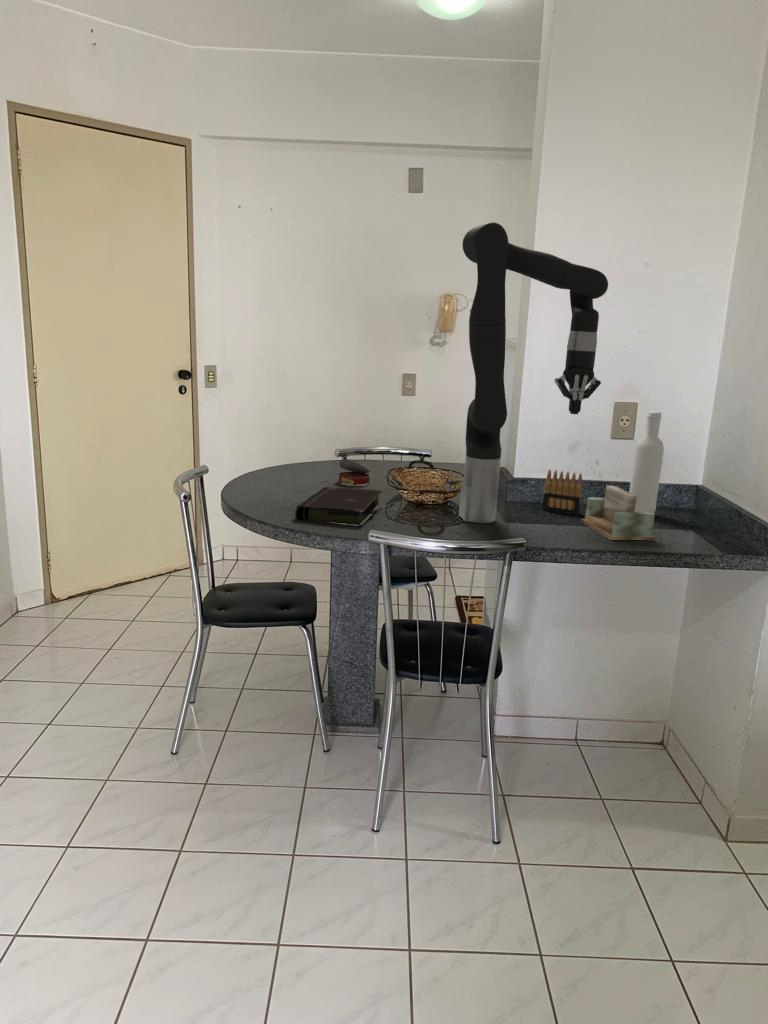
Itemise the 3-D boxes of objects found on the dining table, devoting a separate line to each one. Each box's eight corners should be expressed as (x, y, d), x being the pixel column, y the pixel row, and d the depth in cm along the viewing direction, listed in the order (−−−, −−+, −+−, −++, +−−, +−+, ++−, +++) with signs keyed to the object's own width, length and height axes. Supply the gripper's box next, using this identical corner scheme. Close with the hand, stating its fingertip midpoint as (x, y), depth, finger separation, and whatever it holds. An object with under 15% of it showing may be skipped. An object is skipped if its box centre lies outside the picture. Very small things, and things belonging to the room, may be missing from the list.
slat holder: (610, 540, 191) (614, 513, 189) (581, 522, 208) (584, 497, 206) (654, 540, 193) (658, 514, 191) (621, 522, 210) (624, 498, 208)
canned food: (337, 496, 243) (330, 467, 245) (365, 491, 247) (358, 463, 249) (349, 487, 233) (341, 456, 234) (378, 482, 237) (370, 452, 239)
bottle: (642, 510, 227) (656, 410, 219) (660, 517, 219) (675, 413, 212) (620, 511, 224) (634, 410, 216) (638, 518, 217) (652, 413, 209)
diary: (294, 523, 194) (294, 504, 192) (321, 502, 217) (321, 485, 216) (364, 529, 190) (365, 510, 189) (384, 507, 214) (385, 490, 213)
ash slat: (622, 533, 194) (627, 495, 192) (601, 521, 206) (606, 485, 204) (631, 533, 195) (636, 495, 192) (610, 521, 206) (615, 485, 204)
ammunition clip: (541, 509, 220) (545, 469, 217) (542, 508, 222) (547, 468, 219) (578, 515, 216) (583, 473, 214) (579, 513, 218) (584, 472, 215)
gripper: (563, 348, 197) (556, 414, 201) (610, 351, 200) (602, 416, 204) (552, 347, 204) (546, 411, 209) (598, 349, 207) (590, 413, 211)
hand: (574, 413), depth 206 cm, fingers closed
